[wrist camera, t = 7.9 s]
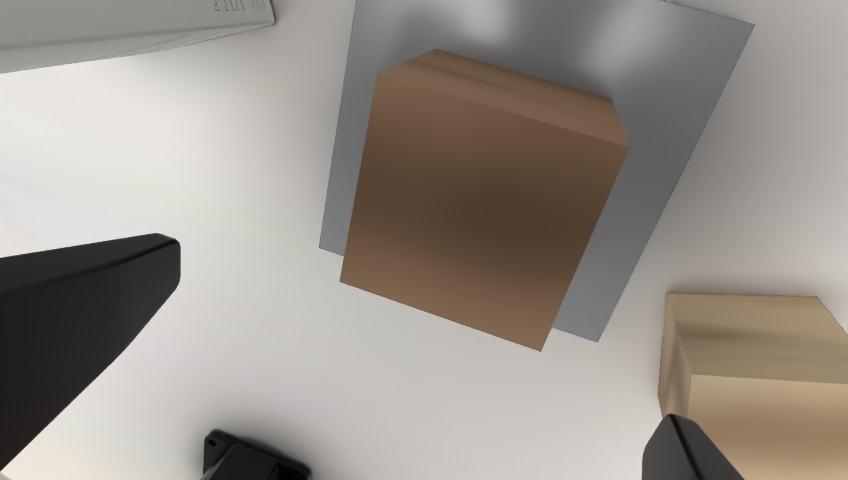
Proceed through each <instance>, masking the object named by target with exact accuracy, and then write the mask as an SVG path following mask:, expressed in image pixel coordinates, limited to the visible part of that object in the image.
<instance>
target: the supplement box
mask: <svg viewBox="0 0 848 480" xmlns="http://www.w3.org/2000/svg"><path fill="white" fill-rule="evenodd" d="M274 22H275V19H274V15H273V11H272V7H271V3H270V0H0V74H1V73H8V72H15V71H22V70H29V69H36V68H43V67H50V66H57V65H64V64H71V63H78V62H85V61H93V60H101V59H109V58H116V57H124V56H131V55H137V54H143V53H149V52H154V51H159V50H165V49H170V48H175V47H180V46H185V45H189V44H194V43H198V42H202V41H206V40H211V39H215V38H219V37H223V36H227V35H231V34H236V33H240V32H244V31H248V30H252V29H256V28H260V27H264V26H269V25H273V24H274Z"/></svg>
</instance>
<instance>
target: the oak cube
mask: <svg viewBox="0 0 848 480" xmlns="http://www.w3.org/2000/svg"><path fill="white" fill-rule="evenodd" d="M658 398H659V403H660V407H661V412H662V417H663V418H664V417H665V416H666V415H667V414H670V413H674V414H677V415H679V416H682V417H685V418H688V419H691V420H693V421H695V422H696V423H697V424H698V425H699V426H700V427H701V429H702V430H703V431H704V432H705V433H706V434H707V436H708V437H709V438H710V439H711V440H712V442H713V443H714V444H715V445H716V446H717V447H718V449H719V450H720V451H721V452H722V453H723V454H724V456H725V457H726V458H727V459H728V460H729V462H730V463H731V464H732V465H733V466H734V467H735V469H736V470H737V471H738V472H739V473H740V474H741V476H742V477H743V478H744V479H745V480H848V334H847V333H846V332H845V331H844V329H843V328H842V327H841V326H840V324H839V323H838V322H837V321H836V319H835V318H834V317H833V316H832V314H831V313H830V312H829V311H828V309H827V308H826V307H825V306H824V304H823V303H822V302H821V301H820V300H819V298H818V297H808V296H768V295H728V294H688V293H666V304H665V316H664V328H663V340H662V352H661V364H660V376H659V388H658Z"/></svg>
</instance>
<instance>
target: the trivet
mask: <svg viewBox="0 0 848 480" xmlns="http://www.w3.org/2000/svg"><path fill="white" fill-rule="evenodd" d="M754 26H755V25H754V24H750V23H746V22H743V21H739V20H735V19H731V18H727V17H723V16H719V15H715V14H711V13H708V12H704V11H700V10H696V9H692V8H688V7H684V6H680V5H676V4H673V3H669V2H665V1H661V0H356V5H355V12H354V18H353V25H352V32H351V38H350V45H349V51H348V58H347V65H346V71H345V78H344V84H343V91H342V98H341V104H340V111H339V118H338V124H337V131H336V137H335V144H334V151H333V157H332V164H331V170H330V177H329V184H328V190H327V197H326V203H325V210H324V217H323V223H322V230H321V237H320V243H319V248H321V249H324V250H327V251H330V252H333V253H336V254H339V255H341V256H344V254H345V249H346V243H347V237H348V232H349V226H350V221H351V215H352V210H353V204H354V199H355V193H356V188H357V182H358V177H359V171H360V166H361V160H362V155H363V149H364V143H365V138H366V132H367V127H368V121H369V116H370V110H371V105H372V99H373V94H374V88H375V83H376V77H377V73H379V72H381V71H383V70H386V69H388V68H391V67H393V66H395V65H398V64H400V63H402V62H405V61H407V60H410V59H412V58H414V57H417V56H419V55H422V54H424V53H426V52H429V51H431V50H433V49H438V50H442V51H446V52H449V53H453V54H456V55H460V56H463V57H467V58H470V59H474V60H477V61H481V62H484V63H488V64H491V65H495V66H498V67H502V68H505V69H509V70H512V71H516V72H519V73H523V74H527V75H530V76H534V77H537V78H541V79H544V80H548V81H551V82H555V83H558V84H562V85H565V86H569V87H572V88H576V89H579V90H583V91H586V92H590V93H593V94H597V95H600V96H604V97H608V98H611V99H612V101H613V103H614V106H615V109H616V111H617V114H618V117H619V119H620V122H621V125H622V127H623V130H624V133H625V135H626V138H627V141H628V144H629V146H630V148H629V151H628V153H627V155H626V158H625V160H624V162H623V164H622V167H621V169H620V171H619V174H618V176H617V178H616V180H615V183H614V185H613V187H612V190H611V192H610V194H609V197H608V199H607V201H606V203H605V206H604V208H603V210H602V213H601V215H600V217H599V219H598V222H597V224H596V226H595V229H594V231H593V233H592V236H591V238H590V240H589V242H588V245H587V247H586V249H585V252H584V254H583V256H582V258H581V261H580V263H579V265H578V268H577V270H576V272H575V275H574V277H573V279H572V281H571V284H570V286H569V288H568V291H567V293H566V295H565V297H564V300H563V302H562V304H561V307H560V309H559V311H558V314H557V316H556V318H555V320H554V323H553V325H552V327H553V328H556V329H559V330H562V331H565V332H568V333H571V334H574V335H577V336H580V337H583V338H586V339H589V340H591V341H594V342H597V343H598V341H599V339H600V337H601V335H602V333H603V331H604V329H605V327H606V325H607V323H608V321H609V319H610V317H611V315H612V313H613V311H614V308H615V306H616V304H617V302H618V300H619V298H620V296H621V294H622V292H623V290H624V288H625V286H626V284H627V282H628V280H629V278H630V276H631V274H632V272H633V270H634V268H635V266H636V264H637V262H638V260H639V258H640V256H641V254H642V252H643V250H644V248H645V246H646V244H647V242H648V240H649V238H650V236H651V234H652V232H653V230H654V228H655V226H656V224H657V222H658V220H659V218H660V216H661V214H662V212H663V210H664V208H665V206H666V204H667V202H668V200H669V198H670V196H671V194H672V192H673V190H674V188H675V186H676V184H677V182H678V180H679V178H680V176H681V174H682V171H683V169H684V167H685V165H686V163H687V161H688V159H689V157H690V155H691V153H692V151H693V149H694V147H695V145H696V143H697V141H698V139H699V137H700V135H701V133H702V131H703V129H704V127H705V125H706V123H707V121H708V119H709V117H710V115H711V113H712V111H713V109H714V107H715V105H716V103H717V101H718V99H719V97H720V95H721V93H722V91H723V89H724V87H725V85H726V83H727V81H728V79H729V77H730V75H731V73H732V71H733V69H734V67H735V65H736V63H737V61H738V59H739V57H740V55H741V53H742V51H743V49H744V47H745V45H746V43H747V41H748V39H749V37H750V34H751V32H752V30H753V28H754Z"/></svg>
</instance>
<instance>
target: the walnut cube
mask: <svg viewBox="0 0 848 480" xmlns="http://www.w3.org/2000/svg"><path fill="white" fill-rule="evenodd" d="M629 148H630V146H629V144H628V141H627V138H626V135H625V133H624V130H623V127H622V125H621V122H620V119H619V117H618V114H617V111H616V109H615V106H614V103H613V101H612V99H611V98H608V97H604V96H600V95H597V94H593V93H590V92H586V91H583V90H579V89H576V88H572V87H569V86H565V85H562V84H558V83H555V82H551V81H548V80H544V79H541V78H537V77H534V76H530V75H527V74H523V73H519V72H516V71H512V70H509V69H505V68H502V67H498V66H495V65H491V64H488V63H484V62H481V61H477V60H474V59H470V58H467V57H463V56H460V55H456V54H453V53H449V52H446V51H442V50H438V49H433V50H431V51H429V52H426V53H424V54H422V55H419V56H417V57H414V58H412V59H410V60H407V61H405V62H402V63H400V64H398V65H395V66H393V67H391V68H388V69H386V70H383V71H381V72H379V73H377V77H376V83H375V88H374V94H373V99H372V105H371V110H370V116H369V121H368V127H367V132H366V138H365V143H364V149H363V155H362V160H361V166H360V171H359V177H358V182H357V188H356V193H355V199H354V204H353V210H352V215H351V221H350V226H349V232H348V237H347V243H346V249H345V254H344V260H343V265H342V271H341V276H340V282H342V283H345V284H348V285H350V286H353V287H356V288H359V289H362V290H365V291H368V292H371V293H373V294H376V295H379V296H382V297H385V298H388V299H391V300H394V301H396V302H399V303H402V304H405V305H408V306H411V307H414V308H417V309H419V310H422V311H425V312H428V313H431V314H434V315H437V316H440V317H442V318H445V319H448V320H451V321H454V322H457V323H460V324H463V325H466V326H468V327H471V328H474V329H477V330H480V331H483V332H486V333H489V334H491V335H494V336H497V337H500V338H503V339H506V340H509V341H512V342H514V343H517V344H520V345H523V346H526V347H529V348H532V349H535V350H537V351H540V352H541V350H542V348H543V346H544V343H545V341H546V339H547V336H548V334H549V332H550V330H551V327H552V325H553V323H554V320H555V318H556V316H557V314H558V311H559V309H560V307H561V304H562V302H563V300H564V297H565V295H566V293H567V291H568V288H569V286H570V284H571V281H572V279H573V277H574V275H575V272H576V270H577V268H578V265H579V263H580V261H581V258H582V256H583V254H584V252H585V249H586V247H587V245H588V242H589V240H590V238H591V236H592V233H593V231H594V229H595V226H596V224H597V222H598V219H599V217H600V215H601V213H602V210H603V208H604V206H605V203H606V201H607V199H608V197H609V194H610V192H611V190H612V187H613V185H614V183H615V180H616V178H617V176H618V174H619V171H620V169H621V167H622V164H623V162H624V160H625V158H626V155H627V153H628V151H629Z"/></svg>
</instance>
